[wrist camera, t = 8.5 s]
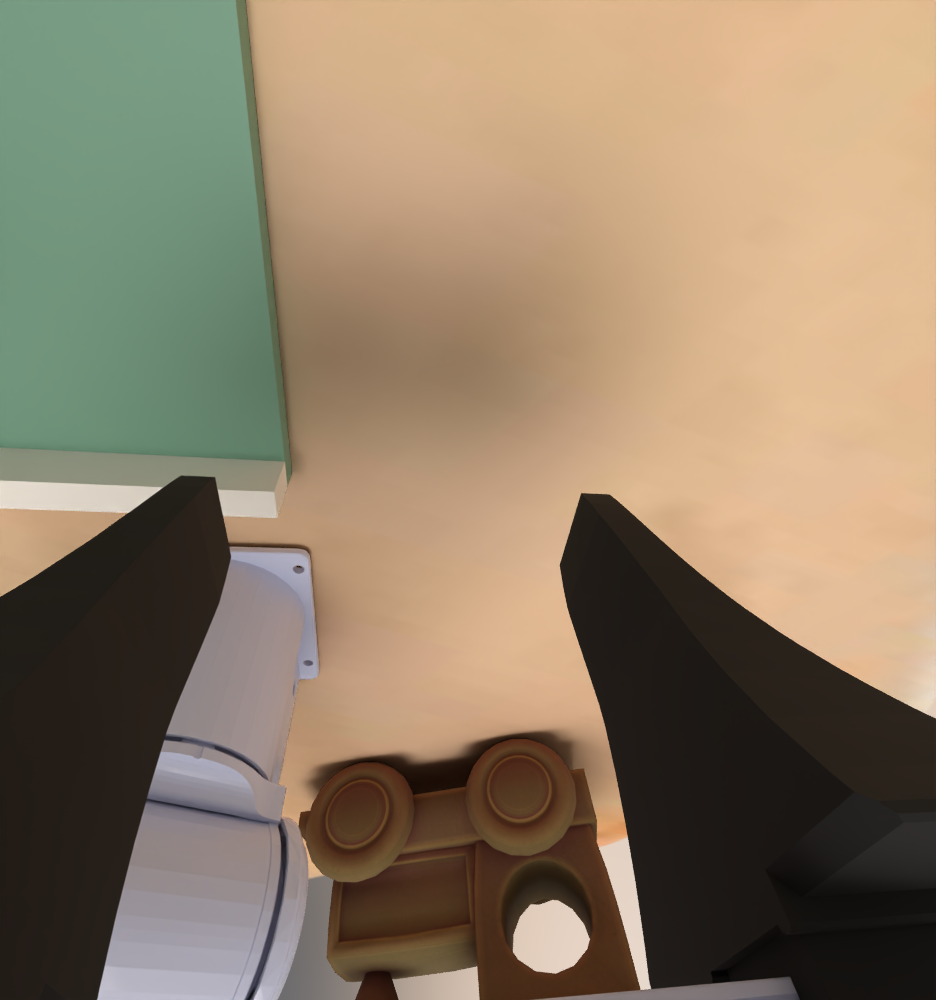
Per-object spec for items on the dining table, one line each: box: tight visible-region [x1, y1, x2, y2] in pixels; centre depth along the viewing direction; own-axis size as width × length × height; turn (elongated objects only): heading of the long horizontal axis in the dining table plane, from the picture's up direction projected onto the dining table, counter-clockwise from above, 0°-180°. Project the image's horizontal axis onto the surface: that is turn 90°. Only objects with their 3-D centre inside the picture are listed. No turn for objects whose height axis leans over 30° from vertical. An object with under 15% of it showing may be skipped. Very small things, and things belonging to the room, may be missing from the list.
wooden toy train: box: [299, 739, 640, 1000], centre depth 33 cm, size 20×11×17 cm, turn 98°
